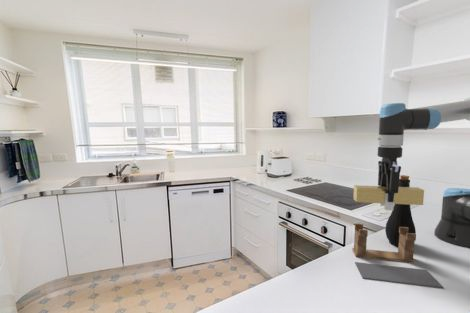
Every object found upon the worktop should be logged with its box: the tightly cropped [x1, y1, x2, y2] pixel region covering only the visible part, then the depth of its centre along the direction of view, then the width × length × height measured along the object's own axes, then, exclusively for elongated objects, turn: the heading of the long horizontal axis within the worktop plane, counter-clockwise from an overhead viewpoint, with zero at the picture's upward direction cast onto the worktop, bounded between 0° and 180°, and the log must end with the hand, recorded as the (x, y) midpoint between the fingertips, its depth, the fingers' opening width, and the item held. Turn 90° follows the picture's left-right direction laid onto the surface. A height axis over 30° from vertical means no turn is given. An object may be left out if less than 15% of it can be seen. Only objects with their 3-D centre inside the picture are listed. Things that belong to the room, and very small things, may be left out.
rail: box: [352, 184, 425, 206], centre depth 86 cm, size 22×4×6 cm, turn 77°
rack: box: [351, 222, 417, 264], centre depth 89 cm, size 20×6×11 cm, turn 77°
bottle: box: [385, 174, 417, 248], centre depth 97 cm, size 11×11×30 cm
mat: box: [354, 261, 444, 289], centre depth 78 cm, size 23×9×1 cm, turn 77°
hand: (386, 207), depth 87 cm, fingers closed on rail, 4 cm apart
